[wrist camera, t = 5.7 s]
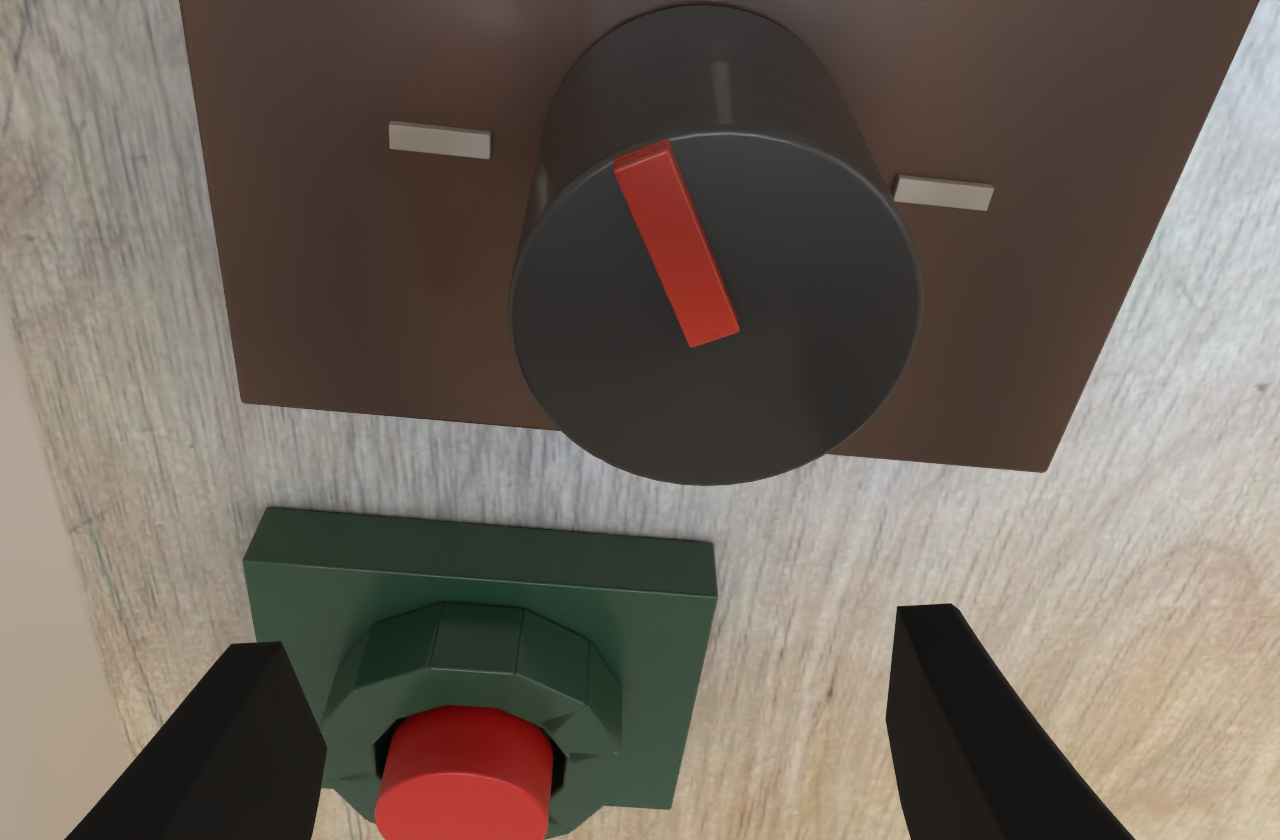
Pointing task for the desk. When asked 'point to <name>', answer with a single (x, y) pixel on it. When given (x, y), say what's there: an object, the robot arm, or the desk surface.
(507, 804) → the button
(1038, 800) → the robot arm
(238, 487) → the desk surface
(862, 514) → the desk surface
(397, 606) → the button box
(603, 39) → the rotary knob
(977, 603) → the desk surface
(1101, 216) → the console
